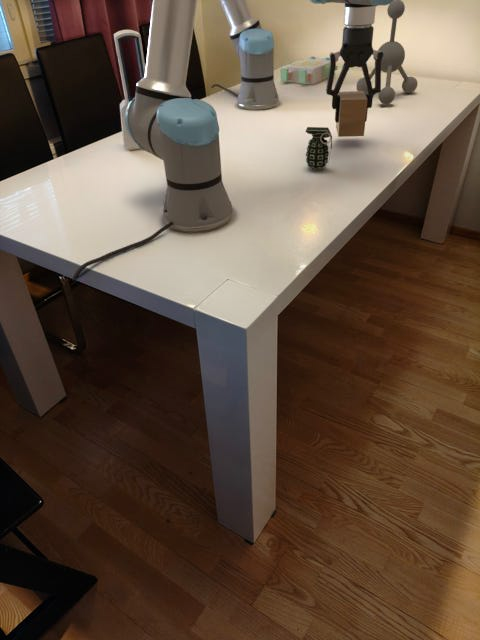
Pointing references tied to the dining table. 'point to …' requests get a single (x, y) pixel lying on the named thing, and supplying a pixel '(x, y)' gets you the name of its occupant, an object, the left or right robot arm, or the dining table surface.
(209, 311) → the dining table surface
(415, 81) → the molecular model
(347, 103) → the block
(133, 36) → the electronic device
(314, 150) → the grenade
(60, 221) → the dining table surface
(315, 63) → the decorative block
